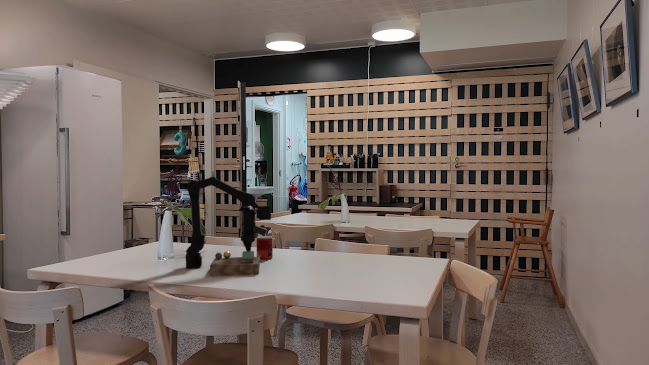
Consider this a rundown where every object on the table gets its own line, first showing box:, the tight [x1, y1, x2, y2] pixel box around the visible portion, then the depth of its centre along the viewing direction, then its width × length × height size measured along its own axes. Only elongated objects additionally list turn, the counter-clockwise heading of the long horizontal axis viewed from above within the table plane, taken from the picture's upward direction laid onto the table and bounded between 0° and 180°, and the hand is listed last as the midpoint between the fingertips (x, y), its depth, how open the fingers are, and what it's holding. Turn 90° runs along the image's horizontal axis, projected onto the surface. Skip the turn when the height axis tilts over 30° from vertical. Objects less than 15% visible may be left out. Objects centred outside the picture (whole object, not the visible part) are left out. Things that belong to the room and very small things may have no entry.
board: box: [209, 256, 261, 277], centre depth 203 cm, size 20×18×4 cm
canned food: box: [256, 235, 273, 261], centre depth 233 cm, size 8×8×11 cm
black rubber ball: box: [214, 252, 223, 259], centre depth 207 cm, size 3×3×3 cm
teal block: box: [241, 250, 255, 259], centre depth 209 cm, size 5×5×2 cm
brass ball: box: [222, 250, 232, 259], centre depth 209 cm, size 3×3×3 cm
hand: (248, 253), depth 216 cm, fingers closed
